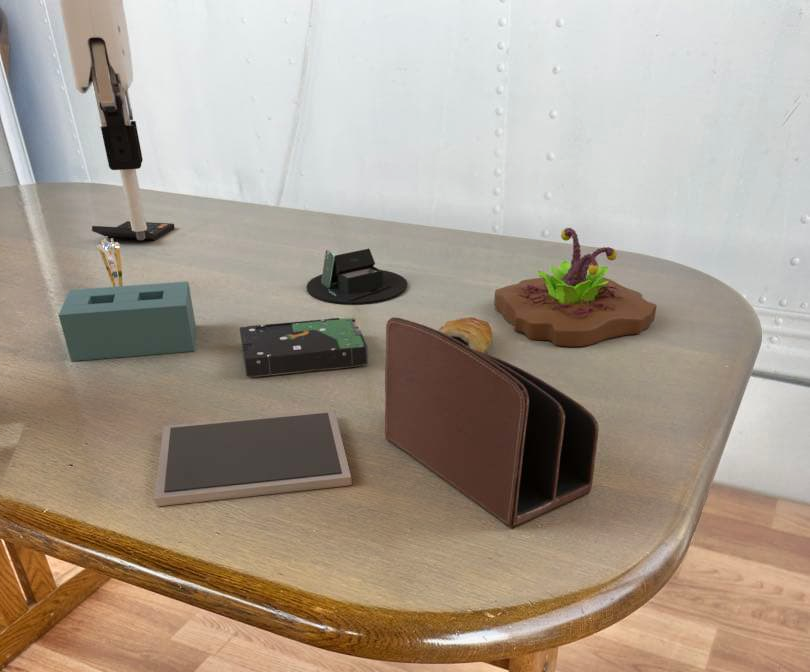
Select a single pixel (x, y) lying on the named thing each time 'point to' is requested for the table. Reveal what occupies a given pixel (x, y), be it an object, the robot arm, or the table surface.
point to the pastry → (470, 333)
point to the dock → (128, 321)
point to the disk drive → (302, 346)
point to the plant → (574, 303)
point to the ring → (111, 260)
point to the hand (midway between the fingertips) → (126, 165)
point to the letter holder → (485, 424)
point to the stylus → (134, 202)
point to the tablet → (251, 457)
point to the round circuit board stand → (355, 280)
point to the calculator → (125, 231)
